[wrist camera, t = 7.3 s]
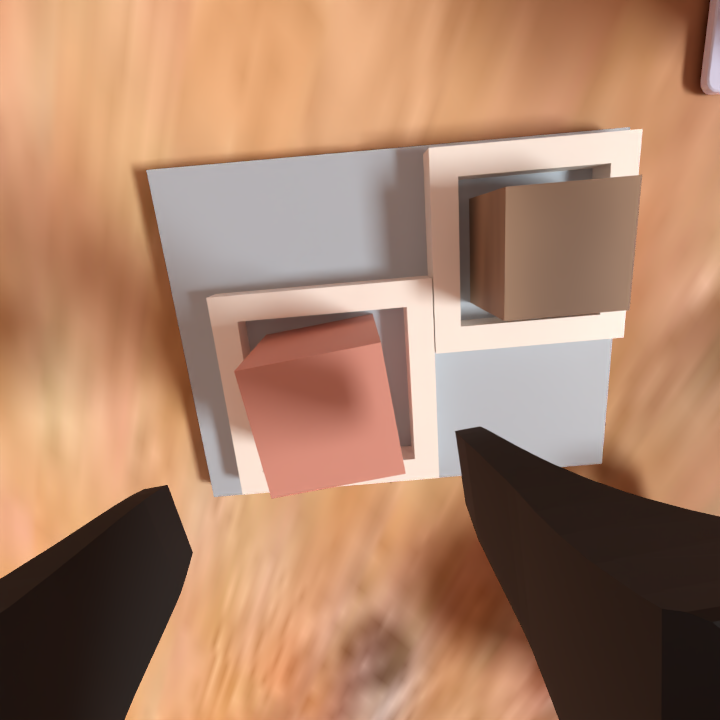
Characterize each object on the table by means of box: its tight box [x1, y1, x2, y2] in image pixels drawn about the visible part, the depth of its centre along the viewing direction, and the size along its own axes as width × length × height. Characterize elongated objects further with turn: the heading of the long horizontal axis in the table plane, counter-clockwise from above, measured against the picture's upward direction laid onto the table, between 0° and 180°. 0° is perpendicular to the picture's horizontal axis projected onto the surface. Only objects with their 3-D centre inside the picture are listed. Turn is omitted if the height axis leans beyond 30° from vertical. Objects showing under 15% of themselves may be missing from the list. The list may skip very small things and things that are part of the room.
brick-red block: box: [234, 314, 406, 498], centre depth 16 cm, size 4×4×5 cm
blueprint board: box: [146, 127, 643, 497], centre depth 18 cm, size 18×14×2 cm
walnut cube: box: [469, 175, 642, 321], centre depth 15 cm, size 4×4×4 cm
